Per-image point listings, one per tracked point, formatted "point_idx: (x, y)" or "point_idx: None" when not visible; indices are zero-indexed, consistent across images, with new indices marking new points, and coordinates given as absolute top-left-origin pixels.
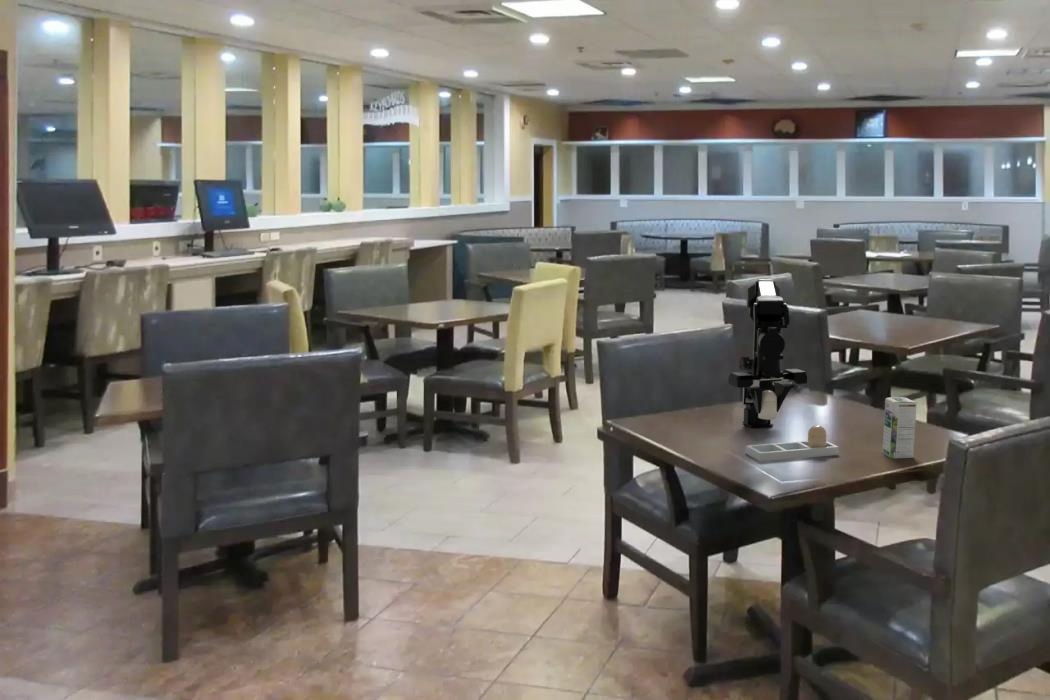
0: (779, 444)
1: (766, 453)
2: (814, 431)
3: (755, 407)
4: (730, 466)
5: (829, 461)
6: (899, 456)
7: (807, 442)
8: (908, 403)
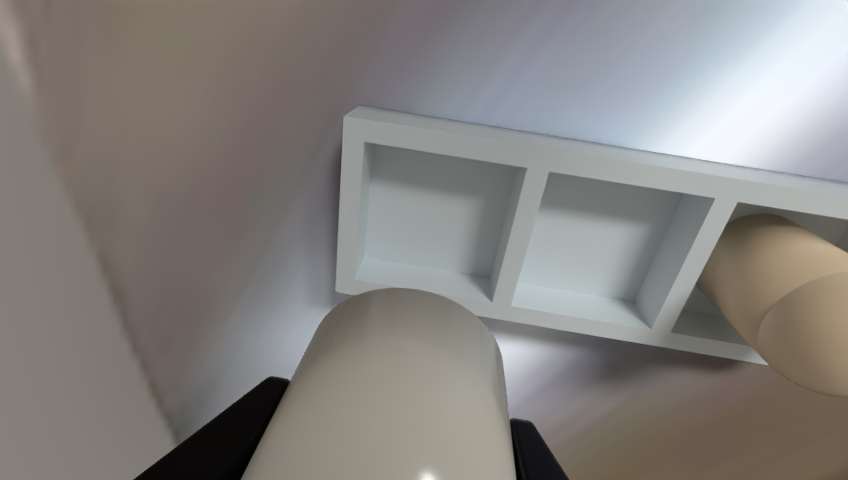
0: (580, 174)
1: None
2: (787, 371)
3: (215, 425)
4: (196, 244)
5: (666, 369)
6: None
7: (792, 207)
8: None
